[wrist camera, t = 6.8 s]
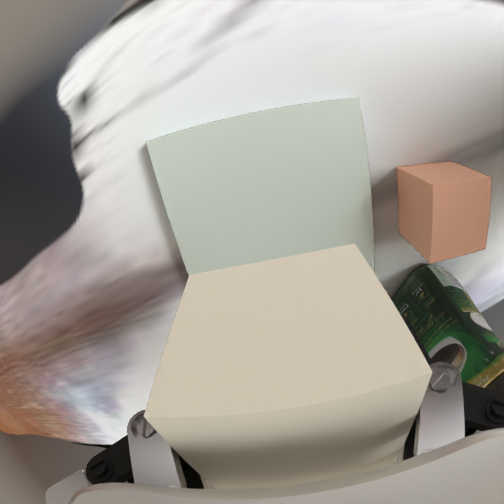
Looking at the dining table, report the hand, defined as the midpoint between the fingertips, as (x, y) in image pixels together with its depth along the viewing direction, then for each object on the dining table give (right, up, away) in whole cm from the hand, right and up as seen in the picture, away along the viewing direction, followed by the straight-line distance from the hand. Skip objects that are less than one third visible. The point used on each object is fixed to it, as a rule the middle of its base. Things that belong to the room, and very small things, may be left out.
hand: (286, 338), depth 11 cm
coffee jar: (+16, -2, +17) cm, 24 cm away
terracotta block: (+14, +8, +12) cm, 20 cm away
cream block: (0, 0, +1) cm, 1 cm away
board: (0, +7, +13) cm, 14 cm away
